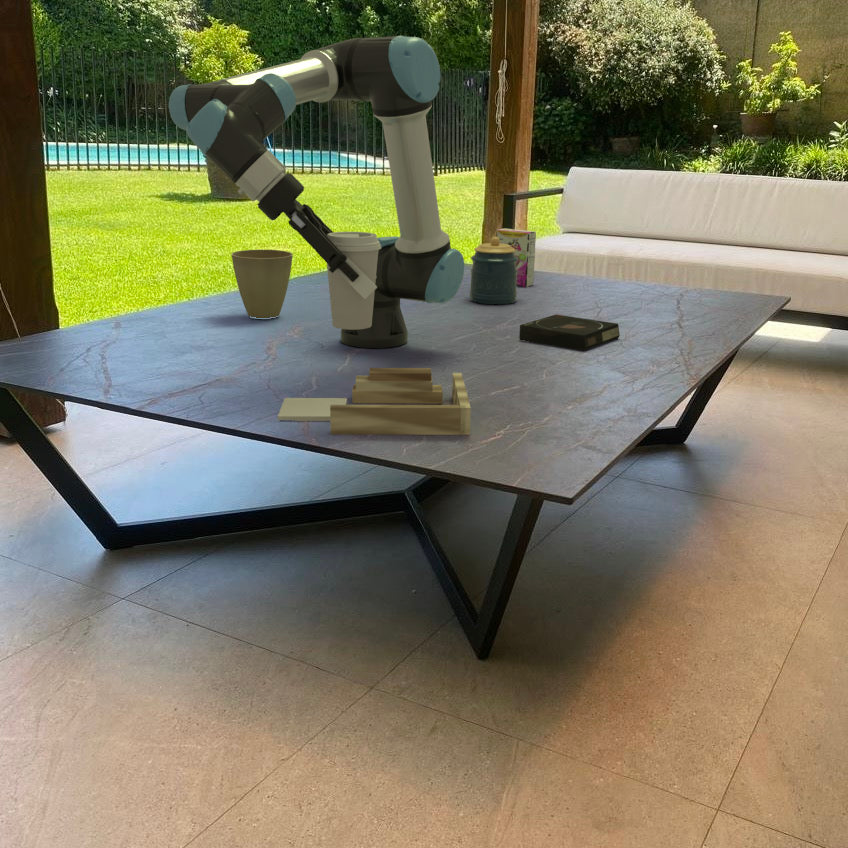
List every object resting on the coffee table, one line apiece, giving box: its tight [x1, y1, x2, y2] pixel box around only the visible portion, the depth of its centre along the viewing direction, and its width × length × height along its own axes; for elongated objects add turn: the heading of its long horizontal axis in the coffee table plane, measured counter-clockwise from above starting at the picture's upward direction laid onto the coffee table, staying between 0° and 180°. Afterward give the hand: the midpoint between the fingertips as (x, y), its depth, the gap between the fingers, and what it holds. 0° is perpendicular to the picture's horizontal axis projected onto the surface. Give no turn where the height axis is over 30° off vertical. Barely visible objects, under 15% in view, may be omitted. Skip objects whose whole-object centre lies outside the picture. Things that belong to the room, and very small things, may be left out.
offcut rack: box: [329, 372, 472, 436], centre depth 166 cm, size 22×22×4 cm
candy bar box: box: [495, 228, 537, 288], centre depth 293 cm, size 11×5×16 cm, turn 58°
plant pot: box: [231, 248, 294, 318], centre depth 242 cm, size 15×15×16 cm
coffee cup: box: [326, 231, 381, 330], centre depth 160 cm, size 10×10×15 cm
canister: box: [469, 236, 518, 305], centre depth 267 cm, size 13×13×18 cm
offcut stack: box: [351, 367, 444, 405], centre depth 175 cm, size 4×16×5 cm, turn 92°
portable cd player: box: [518, 313, 621, 352], centre depth 224 cm, size 16×17×4 cm
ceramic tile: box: [277, 397, 348, 422], centre depth 168 cm, size 11×11×1 cm
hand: (370, 287), depth 160 cm, fingers closed on coffee cup, 9 cm apart
